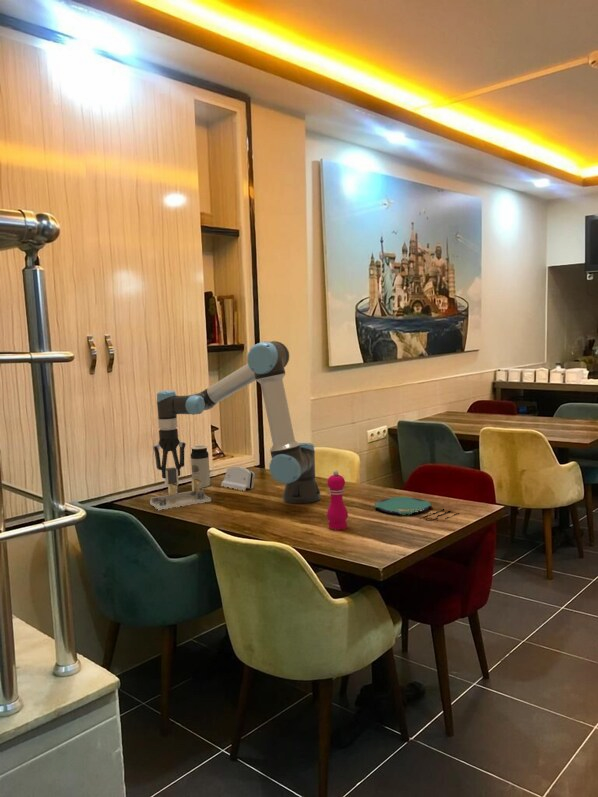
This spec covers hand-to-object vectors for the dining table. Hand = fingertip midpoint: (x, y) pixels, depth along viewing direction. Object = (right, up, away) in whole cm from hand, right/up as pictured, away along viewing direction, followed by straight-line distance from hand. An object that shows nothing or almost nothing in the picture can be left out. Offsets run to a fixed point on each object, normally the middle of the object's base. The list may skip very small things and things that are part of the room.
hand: (171, 484), depth 263 cm
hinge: (+26, -4, +22) cm, 34 cm away
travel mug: (+8, -4, +27) cm, 28 cm away
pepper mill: (+66, -9, -43) cm, 79 cm away
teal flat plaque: (+95, -7, -27) cm, 99 cm away
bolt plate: (+4, -7, -1) cm, 8 cm away
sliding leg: (+1, -4, -2) cm, 5 cm away
